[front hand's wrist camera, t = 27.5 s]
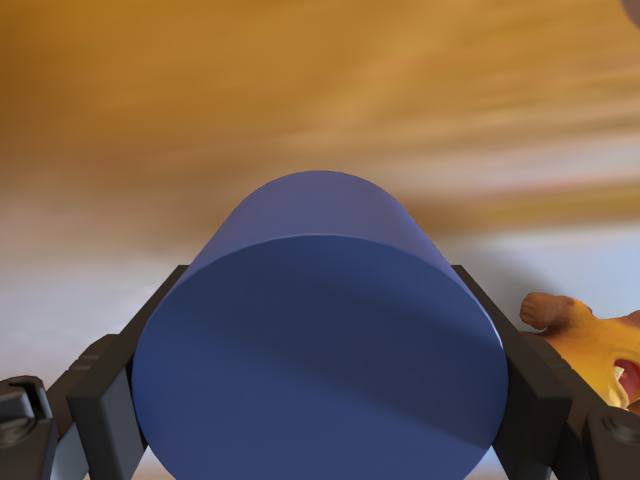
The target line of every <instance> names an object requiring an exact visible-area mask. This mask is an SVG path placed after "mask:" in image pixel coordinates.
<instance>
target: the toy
mask: <svg viewBox="0 0 640 480" xmlns="http://www.w3.org/2000/svg"><path fill="white" fill-rule="evenodd" d="M520 317H521V319H522V321H523V322H525V323H527V324H531V326H532V327H534V328H535V329H538V330H543V329H544V328H546V327H547V329H546V330H545V331H544V332H541V333H534V334H535V335H537V336H538V337H540V338H542V339H543V340H545V341H546V342H548V343H550V344H551V345H552V346H553V348H554V349H555V350H556V351H557V352H558V353H559V354H560V355H561V357H562V358H564V359H565V360H566V361H567V362H568V363H569V364H570V365H571V368H572V369H574V370H575V371H576V372H577V373H578V374H579V375H580V376H581V377H582V378H583V379H584V380H585V381H586V382H587V383H588V384H589V385H590V386H591V387H592V389H593V390H594V391H595V392H596V393H597V394H598V395H599V396H600V397H601V398H602V399H603V400H604V401H605V402H606V403H607V404H608V405H609V406H615V407H619V408H622V409H625V410H627V411H630V412H633V413H634V414H636V415H638V416H640V310H637V311H635V312H633V313H631V314H629V315H628V316H623V317H619V318H612V319H598V318H596V317H595V316H593V315H592V310H591V309H590V308H589V307H588V306H587V305H585V304H584V303H583V302H581V301H579V300H576V299H574V298H570V297H566V296H553V295H550V294H546V293H530V294H528V296H527V297H526V298H525V299H524V301H523V302H522V306H521V310H520ZM519 333H532V332H522V331H519Z"/></svg>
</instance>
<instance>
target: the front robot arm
mask: <svg viewBox="0 0 640 480" xmlns="http://www.w3.org/2000/svg"><path fill="white" fill-rule="evenodd" d="M189 266H190V265H178V266H177V268H176V269H175V270H174V271H173V272H172V273H171V275H170V276H169V277H168V278H167V279H166V280H165V282H164V283H163V284H162V285H161V286H160V287H159V288H158V290H157V291H156V292H155V293H154V294H153V295H152V297H151V298H150V299H149V300H148V301H147V302H146V303H145V305H144V306H143V307H142V308H141V309H140V310H139V312H138V313H137V314H136V315H135V316H134V317H133V318H132V320H131V321H130V322H129V323H128V324H127V325H126V327H125V328H124V329H123V330H122V331H121V332H120V333H119V334H107V335H105V336H104V337H102V338H100V339H99V340H97V341H96V342H94V343H92V344H91V345H90V346H89V347H88V348H87V349H86V350H85V351H84V352H83V353H82V354H81V355H80V356H79V359H78V360H75V362H74V363H73V364H72V365H71V366H70V367H69V370H66V371H65V372H64V373H63V374H62V375H61V376H60V377H59V378H58V379H57V381H56V382H55V383H54V384H53V385H52V386H51V387H50V388H49V389H48V390H47V391H45V388H44V385H43V382H42V380H41V379H39V378H38V377H36V376H27V375H24V376H18V377H11V378H8V379H5V380H2V381H0V480H83V479H84V477H85V475H86V474H87V472H88V473H89V476H90V480H131V478H132V476H133V474H134V472H135V470H136V468H137V466H138V464H139V462H140V460H141V458H142V456H143V454H144V452H145V450H146V448H147V446H148V443H147V441H146V439H145V438H144V436H143V433H142V431H141V428H140V426H139V423H138V421H137V417H136V413H135V409H134V405H133V400H132V384H131V378H132V368H133V359H134V356H135V352H136V348H137V345H138V341H139V338H140V336H141V334H142V332H143V330H144V328H145V326H146V324H147V321H148V319H149V318H150V317H151V315H152V314H153V312H154V311H155V309H156V308H157V306H158V305H159V304H160V302H161V301H162V299H163V298H164V297H165V296H166V294H167V293H168V292H169V291H170V289H171V288H172V287H173V286H174V284H175V283H176V282H177V281H178V279H179V278H180V277H181V276H182V274H183V273H184V272H185V271H186V269H187V268H188V267H189ZM450 266H451V267H452V268H453V270H454V271H455V272H456V273H457V275H458V276H459V277H460V278H461V280H462V281H463V282H464V283H465V285H466V286H467V287H468V288H469V290H470V291H471V292H472V293H473V295H474V296H475V297H476V298H477V300H478V301H479V303H480V304H481V305H482V307H483V308H484V310H485V311H486V312H487V314H488V315H489V317H490V318H491V320H492V322H493V324H494V326H495V328H496V330H497V332H498V334H499V336H500V339H501V342H502V346H503V349H504V352H505V356H506V361H507V370H508V378H509V380H508V399H507V404H506V408H505V413H504V418H503V420H502V423H501V425H500V428H499V431H498V433H497V436H496V437H495V439H494V441H493V443H492V444H491V445H492V447H493V449H494V451H495V453H496V455H497V457H498V459H499V461H500V463H501V465H502V467H503V469H504V471H505V473H506V475H507V477H508V479H509V480H549V479H550V475H551V472H552V471H553V472H554V474H555V475H556V477H557V479H558V480H640V416H638V415H636V414H634V413H633V412H630V411H627V410H625V409H622V408H619V407H615V406H609V405H608V404H607V403H606V402H605V401H604V400H603V399H602V398H601V397H600V396H599V395H598V394H597V393H596V392H595V391H594V390H593V389H592V387H591V386H590V385H589V384H588V383H587V382H586V381H585V380H584V379H583V378H582V377H581V376H580V375H579V374H578V373H577V372H576V371H575V370H574V369H572V368H571V365H570V364H569V363H568V362H567V361H566V360H565V359H564V358H562V357H561V355H560V354H559V353H558V352H557V351H556V350H555V349H554V348H553V346H552V345H551V344H550V343H548V342H546V341H545V340H543V339H542V338H540V337H538V336H537V335H535V334H534V333H519V331H518V330H517V329H516V328H515V327H514V326H513V325H512V323H511V322H510V321H509V320H508V319H507V318H506V316H505V315H504V314H503V313H502V312H501V311H500V310H499V308H498V307H497V306H496V305H495V304H494V303H493V301H492V300H491V299H490V298H489V297H488V296H487V294H486V293H485V292H484V291H483V290H482V289H481V288H480V286H479V285H478V284H477V283H476V282H475V281H474V279H473V278H472V277H471V276H470V275H469V274H468V273H467V271H466V270H465V269H464V268H463V267H462V266H461V265H450Z"/></svg>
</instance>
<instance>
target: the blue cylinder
mask: <svg viewBox="0 0 640 480" xmlns="http://www.w3.org/2000/svg"><path fill="white" fill-rule="evenodd" d="M508 380H509V378H508V370H507V361H506V356H505V352H504V349H503V346H502V342H501V339H500V336H499V334H498V332H497V330H496V328H495V326H494V324H493V322H492V320H491V318H490V317H489V315H488V314H487V312H486V311H485V310H484V308H483V307H482V305H481V304H480V303H479V301H478V300H477V298H476V297H475V296H474V295H473V293H472V292H471V291H470V290H469V288H468V287H467V286H466V285H465V283H464V282H463V281H462V280H461V278H460V277H459V276H458V275H457V273H456V272H455V271H454V270H453V268H452V267H451V266H450V265H449V263H448V262H447V261H446V260H445V258H444V257H443V256H442V255H441V253H440V252H439V251H438V250H437V248H436V247H435V246H434V245H433V243H432V242H431V241H430V240H429V238H428V237H427V236H426V235H425V233H424V232H423V231H422V230H421V228H420V227H419V226H418V225H417V223H416V222H415V221H414V220H413V218H412V217H411V216H410V215H409V213H408V212H407V211H406V210H405V208H404V207H403V206H402V205H401V204H400V203H399V202H398V201H397V200H396V199H395V198H394V197H392V196H391V195H390V194H388V193H387V192H386V191H385V190H383V189H382V188H380V187H378V186H376V185H375V184H373V183H371V182H369V181H366V180H364V179H362V178H359V177H357V176H353V175H349V174H345V173H340V172H333V171H307V172H300V173H295V174H291V175H287V176H284V177H281V178H278V179H276V180H274V181H271V182H269V183H267V184H265V185H264V186H262V187H260V188H259V189H257V190H255V191H254V192H253V193H251V194H250V195H249V196H248V197H246V198H245V199H244V200H243V201H242V202H241V203H240V204H239V205H238V206H237V207H236V209H235V210H234V211H233V212H232V213H231V215H230V216H229V217H228V218H227V220H226V221H225V222H224V223H223V224H222V226H221V227H220V228H219V229H218V231H217V232H216V233H215V234H214V236H213V237H212V238H211V239H210V241H209V242H208V243H207V244H206V246H205V247H204V248H203V249H202V251H201V252H200V253H199V254H198V256H197V257H196V258H195V259H194V261H193V262H192V263H191V264H190V266H189V267H188V268H187V269H186V271H185V272H184V273H183V274H182V276H181V277H180V278H179V279H178V281H177V282H176V283H175V284H174V286H173V287H172V288H171V289H170V291H169V292H168V293H167V294H166V296H165V297H164V298H163V299H162V301H161V302H160V304H159V305H158V306H157V308H156V309H155V311H154V312H153V314H152V315H151V317H150V318H149V319H148V321H147V324H146V326H145V328H144V330H143V332H142V334H141V336H140V338H139V341H138V345H137V348H136V352H135V356H134V359H133V368H132V378H131V384H132V400H133V405H134V409H135V413H136V417H137V421H138V423H139V426H140V428H141V431H142V433H143V436H144V438H145V439H146V441H147V443H148V445H149V446H150V448H151V450H152V451H153V453H154V455H155V456H156V457H157V458H158V460H159V461H160V462H161V464H162V465H163V466H164V467H165V469H166V470H167V471H168V472H169V473H170V474H171V475H172V476H173V477H174V478H175V479H176V480H464V479H465V478H466V477H467V476H468V475H469V474H470V473H471V472H472V471H473V470H474V469H475V467H476V466H477V465H478V464H479V462H480V461H481V460H482V458H483V457H484V456H485V454H486V453H487V452H488V450H489V448H490V446H491V444H492V443H493V441H494V439H495V437H496V436H497V433H498V431H499V428H500V425H501V423H502V420H503V418H504V413H505V408H506V404H507V399H508Z"/></svg>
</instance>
